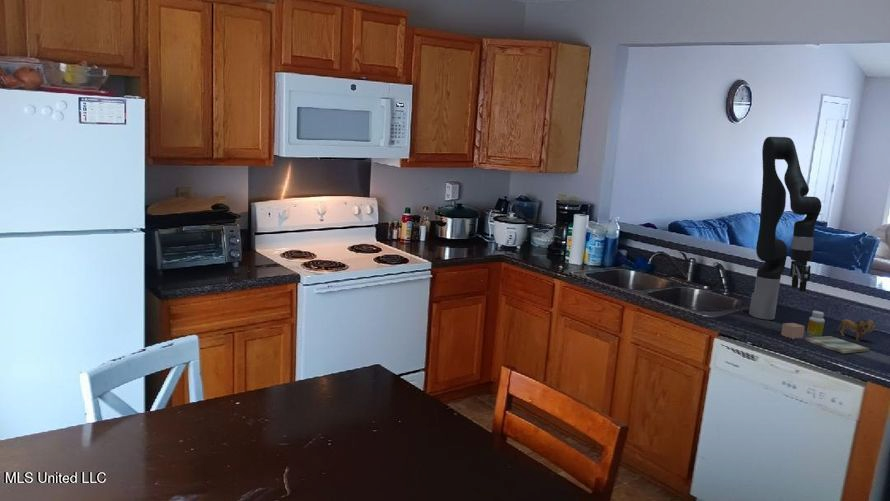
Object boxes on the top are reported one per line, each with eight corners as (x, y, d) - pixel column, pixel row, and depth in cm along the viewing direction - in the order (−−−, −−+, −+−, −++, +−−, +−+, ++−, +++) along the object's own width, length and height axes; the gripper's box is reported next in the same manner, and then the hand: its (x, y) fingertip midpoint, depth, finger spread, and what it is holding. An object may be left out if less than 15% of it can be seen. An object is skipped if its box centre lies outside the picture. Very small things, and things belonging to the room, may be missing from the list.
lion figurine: (874, 342, 275) (878, 320, 273) (867, 344, 272) (871, 321, 271) (836, 331, 287) (840, 310, 285) (829, 333, 284) (833, 311, 282)
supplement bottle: (815, 338, 275) (820, 314, 273) (803, 334, 279) (807, 310, 278) (824, 337, 277) (829, 313, 275) (812, 333, 282) (816, 309, 280)
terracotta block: (780, 336, 276) (782, 323, 275) (791, 335, 278) (793, 322, 277) (791, 339, 271) (793, 327, 270) (802, 338, 274) (804, 326, 273)
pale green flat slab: (804, 340, 271) (805, 337, 270) (830, 338, 276) (830, 335, 276) (843, 353, 256) (843, 350, 256) (868, 351, 262) (869, 348, 262)
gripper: (785, 245, 282) (782, 286, 284) (798, 249, 268) (794, 292, 270) (805, 246, 281) (801, 287, 283) (819, 250, 267) (815, 293, 269)
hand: (798, 289), depth 277 cm, fingers open, 8 cm apart
